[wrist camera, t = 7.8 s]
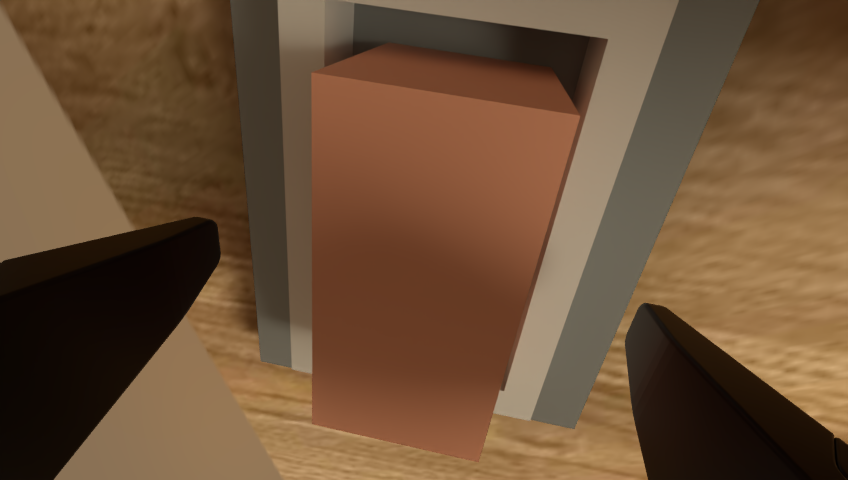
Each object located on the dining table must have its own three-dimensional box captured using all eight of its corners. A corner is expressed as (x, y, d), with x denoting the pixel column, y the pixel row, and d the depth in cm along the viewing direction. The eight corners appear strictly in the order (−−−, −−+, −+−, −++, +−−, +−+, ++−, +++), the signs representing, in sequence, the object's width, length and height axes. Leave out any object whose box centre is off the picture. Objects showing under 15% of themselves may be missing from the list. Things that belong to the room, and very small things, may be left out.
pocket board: (569, 397, 18) (582, 480, 14) (278, 335, 19) (233, 401, 16) (774, -114, 10) (896, -165, 7) (249, -172, 11) (146, -238, 8)
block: (388, 42, 11) (311, 72, 7) (551, 67, 11) (580, 115, 6) (369, 300, 15) (312, 424, 11) (487, 324, 15) (478, 462, 10)
